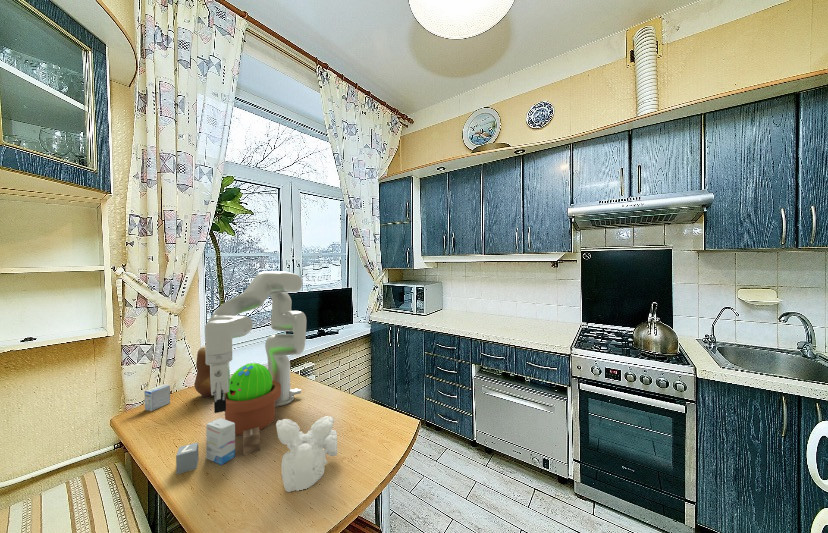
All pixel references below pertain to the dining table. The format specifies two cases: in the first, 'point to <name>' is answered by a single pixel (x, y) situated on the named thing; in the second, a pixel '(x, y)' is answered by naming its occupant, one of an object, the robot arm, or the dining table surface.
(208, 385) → the butternut squash
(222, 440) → the ink box
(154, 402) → the medicine box
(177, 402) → the dining table surface
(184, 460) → the slate block
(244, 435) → the walnut block
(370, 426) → the dining table surface
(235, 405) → the potted cactus
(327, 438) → the cauliflower
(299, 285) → the robot arm
